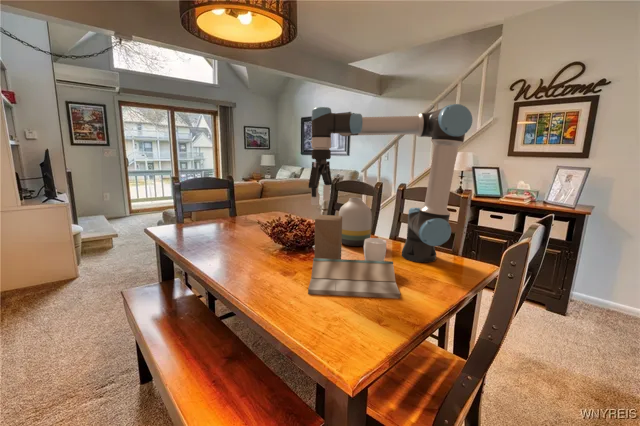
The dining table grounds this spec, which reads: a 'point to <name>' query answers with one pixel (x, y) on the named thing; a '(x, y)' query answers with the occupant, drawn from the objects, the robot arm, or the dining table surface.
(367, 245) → the cup
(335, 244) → the wooden block
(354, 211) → the vase
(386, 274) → the plank
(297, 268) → the dining table surface
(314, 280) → the laid row
